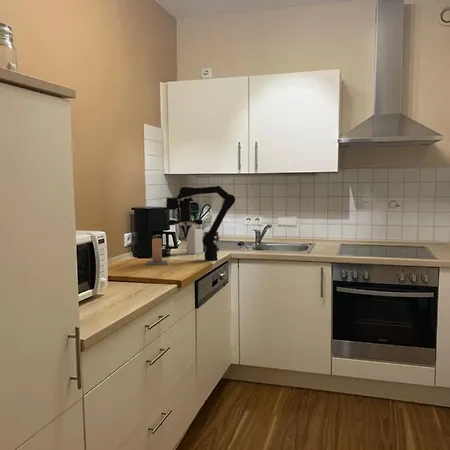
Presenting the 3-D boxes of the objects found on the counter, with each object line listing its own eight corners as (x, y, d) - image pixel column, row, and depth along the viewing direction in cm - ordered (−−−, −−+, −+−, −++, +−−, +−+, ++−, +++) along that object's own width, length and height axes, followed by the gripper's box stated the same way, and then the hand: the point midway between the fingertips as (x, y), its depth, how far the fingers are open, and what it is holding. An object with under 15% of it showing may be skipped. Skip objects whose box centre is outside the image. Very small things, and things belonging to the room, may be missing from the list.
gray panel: (167, 261, 260) (167, 259, 260) (167, 264, 249) (167, 263, 249) (147, 262, 259) (147, 260, 259) (146, 265, 248) (146, 263, 248)
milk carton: (194, 252, 294) (193, 222, 293) (203, 253, 290) (202, 222, 288) (186, 253, 289) (185, 223, 287) (195, 254, 284) (194, 223, 283)
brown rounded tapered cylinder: (163, 261, 255) (163, 238, 254) (158, 262, 251) (158, 239, 250) (155, 260, 257) (155, 238, 256) (150, 262, 253) (150, 239, 252)
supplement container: (209, 249, 308) (209, 231, 307) (222, 250, 302) (222, 231, 301) (199, 251, 299) (199, 232, 298) (213, 252, 293) (212, 233, 292)
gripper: (201, 208, 267) (201, 235, 269) (168, 209, 265) (169, 236, 267) (202, 209, 256) (202, 237, 258) (168, 210, 254) (168, 238, 256)
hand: (185, 237), depth 260 cm, fingers closed
